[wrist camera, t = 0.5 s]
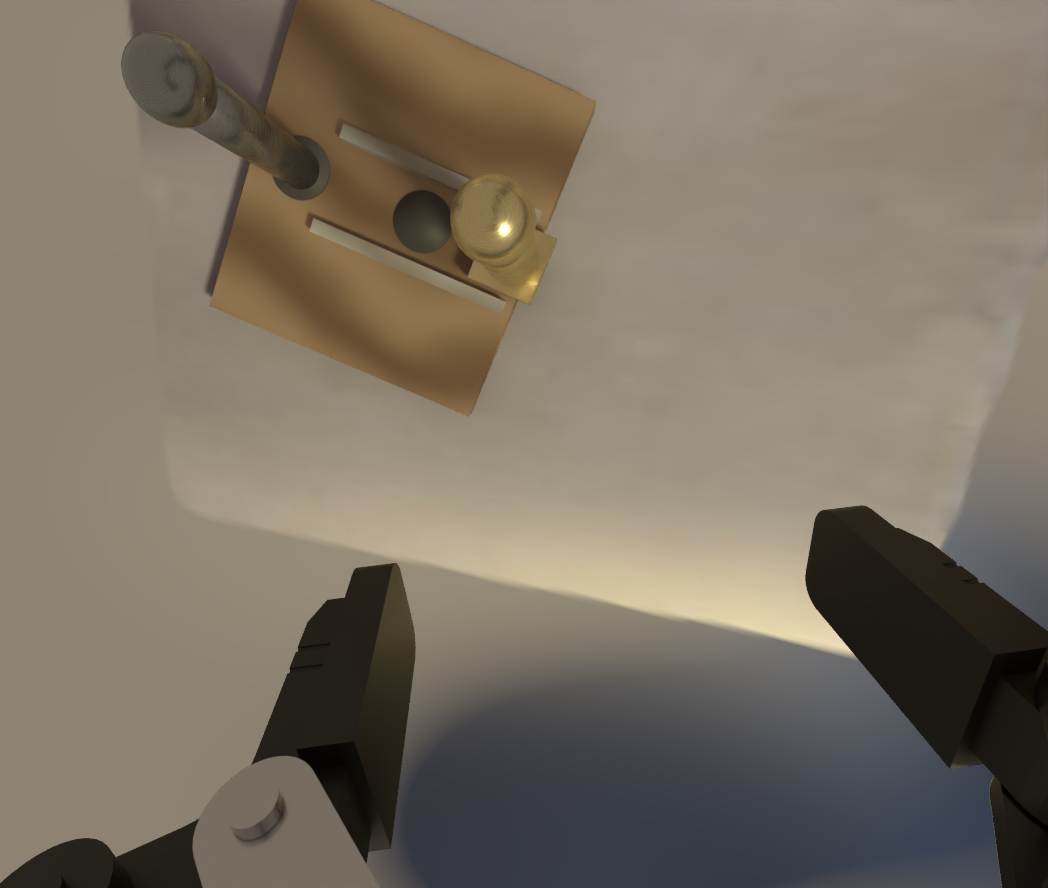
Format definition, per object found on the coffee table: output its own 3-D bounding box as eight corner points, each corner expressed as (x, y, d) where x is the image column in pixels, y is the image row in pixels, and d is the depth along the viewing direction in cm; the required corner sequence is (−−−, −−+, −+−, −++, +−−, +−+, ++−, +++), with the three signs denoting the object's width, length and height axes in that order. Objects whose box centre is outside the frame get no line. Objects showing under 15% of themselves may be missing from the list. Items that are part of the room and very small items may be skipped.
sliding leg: (495, 215, 32) (457, 132, 19) (556, 242, 32) (560, 178, 19) (470, 279, 33) (418, 241, 20) (530, 305, 33) (517, 285, 20)
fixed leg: (284, 131, 32) (110, -4, 19) (333, 152, 32) (193, 33, 19) (268, 184, 32) (90, 87, 20) (317, 205, 33) (170, 123, 20)
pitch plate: (316, -13, 31) (298, -40, 29) (594, 112, 32) (597, 95, 30) (223, 307, 36) (201, 305, 33) (471, 413, 36) (466, 418, 34)
